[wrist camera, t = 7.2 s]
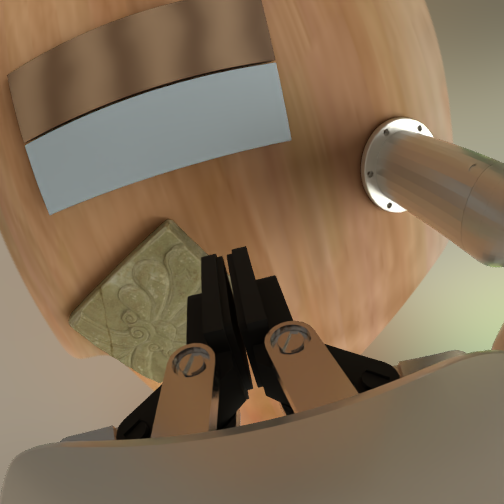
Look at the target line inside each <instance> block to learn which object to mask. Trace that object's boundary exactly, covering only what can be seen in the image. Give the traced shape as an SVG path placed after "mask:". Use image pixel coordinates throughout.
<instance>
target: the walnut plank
mask: <svg viewBox="0 0 504 504" xmlns="http://www.w3.org/2000/svg"><path fill="white" fill-rule="evenodd" d="M273 60H275V56H274V52H273V47H272V43H271V38H270V34H269V30H268V25H267V21H266V17H265V13H264V9H263V5H262V1H261V0H183V1H179V2H175V3H171V4H167V5H163V6H160V7H156V8H152V9H149V10H146V11H143V12H139V13H136V14H133V15H130V16H127V17H124V18H121V19H119V20H116V21H113V22H111V23H108V24H105V25H103V26H100V27H98V28H95V29H93V30H91V31H88V32H86V33H84V34H82V35H79V36H77V37H75V38H73V39H71V40H69V41H67V42H64V43H62V44H60V45H58V46H56V47H55V48H53V49H51V50H49V51H47V52H45V53H43V54H41V55H40V56H38V57H36V58H34V59H33V60H31V61H29V62H27V63H26V64H24V65H23V66H21V67H19V68H18V69H16V70H14V71H13V72H11V73H10V74H8V75H7V77H8V82H9V87H10V91H11V96H12V100H13V105H14V109H15V113H16V116H17V120H18V124H19V127H20V131H21V134H22V138H23V141H24V143H25V142H28V141H30V140H33V139H35V138H37V137H39V136H41V135H43V134H45V133H47V132H48V131H50V130H52V129H54V128H57V127H59V126H61V125H63V124H65V123H67V122H69V121H71V120H73V119H76V118H78V117H80V116H82V115H85V114H87V113H89V112H92V111H94V110H97V109H99V108H101V107H104V106H106V105H109V104H112V103H114V102H117V101H119V100H122V99H125V98H128V97H130V96H133V95H136V94H139V93H142V92H145V91H148V90H151V89H154V88H158V87H161V86H164V85H168V84H171V83H174V82H178V81H182V80H185V79H189V78H193V77H197V76H201V75H205V74H209V73H214V72H218V71H223V70H228V69H232V68H238V67H243V66H248V65H254V64H260V63H267V62H271V61H273Z"/></svg>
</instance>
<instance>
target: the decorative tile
mask: <svg viewBox="0 0 504 504" xmlns="http://www.w3.org/2000/svg"><path fill="white" fill-rule="evenodd" d="M204 256H208V255H207V254H206V253H205V252H204V251H203V250H202V249H201V248H200V247H199V246H198V245H197V244H196V243H195V242H194V241H193V240H192V239H191V238H190V237H189V236H188V235H187V234H186V233H185V232H184V231H183V230H182V229H181V228H180V227H179V226H178V225H177V224H176V223H175V222H174V221H173V220H166V221H165V222H164V223H163V224H161V225H160V226H159V227H158V228H157V229H156V230H155V231H154V232H153V233H152V234H151V235H149V236H148V237H147V238H146V239H145V240H144V241H143V242H142V243H141V244H140V245H138V247H137V248H136V249H134V250H133V251H132V252H131V253H130V254H129V255H128V256H127V257H126V258H125V259H124V260H123V261H122V262H121V263H120V264H119V265H118V266H117V267H116V268H115V269H114V270H113V271H112V272H111V273H110V274H109V275H108V276H107V277H106V278H105V279H104V280H103V281H102V282H101V283H100V284H99V285H98V286H97V287H96V288H95V289H94V290H93V291H92V292H91V293H90V294H89V295H88V296H87V297H86V298H85V299H84V300H83V302H82V303H81V304H80V305H79V306H78V307H77V308H76V309H75V310H74V311H73V312H72V314H71V316H70V318H69V324H70V326H71V327H72V328H73V329H75V330H76V331H77V332H78V333H80V334H81V335H82V336H84V337H85V338H86V339H88V340H89V341H90V342H91V343H93V344H94V345H95V346H97V347H98V348H100V349H101V350H103V351H105V352H106V353H108V354H109V355H110V356H112V357H114V358H116V359H117V360H119V361H120V362H122V363H123V364H125V365H126V366H128V367H130V368H132V369H133V370H135V371H137V372H138V373H140V374H141V375H143V376H145V377H147V378H149V379H152V380H154V381H156V382H158V383H161V382H163V379H164V374H165V370H166V366H167V362H168V360H169V358H170V356H171V355H172V354H173V353H174V352H175V351H176V350H177V349H179V348H180V347H182V346H185V345H186V330H187V298H188V296H191V295H195V294H199V293H202V290H201V257H204ZM227 275H228V274H227ZM228 278H229V282H230V285H231V279H230V276H229V275H228ZM231 289H232V285H231ZM232 292H233V291H232Z"/></svg>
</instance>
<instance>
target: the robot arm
mask: <svg viewBox="0 0 504 504" xmlns="http://www.w3.org/2000/svg"><path fill="white" fill-rule="evenodd" d="M361 178H362V182H363V186H364V189H365V191H366V193H367V195H368V196H369V198H370V199H371V200H372V201H373V202H374V203H375V204H376V205H377V206H379V207H380V208H382V209H384V210H386V211H388V212H394V213H397V212H404V211H408V212H410V213H411V214H413V215H414V216H416V217H417V218H419V219H420V220H422V221H423V222H425V223H426V224H428V225H429V226H431V227H432V228H434V229H435V230H436V231H438V232H439V233H441V234H442V235H443V236H445V237H446V238H448V239H449V240H450V241H452V242H453V243H454V244H456V245H457V246H459V247H460V248H461V249H462V250H464V251H465V252H466V253H468V254H469V255H471V256H472V257H473V258H474V259H476V260H477V261H479V262H480V263H482V264H484V265H487V266H490V267H504V163H502V162H500V161H497V160H495V159H492V158H490V157H487V156H485V155H482V154H479V153H477V152H474V151H472V150H469V149H466V148H464V147H461V146H458V145H455V144H452V143H449V142H446V141H443V140H440V139H437V138H434V137H433V135H432V134H431V132H430V131H429V130H428V128H427V127H425V126H424V125H423V124H422V123H420V122H419V121H417V120H414V119H411V118H405V117H397V118H393V119H390V120H387V121H386V122H384V123H383V124H381V125H380V126H379V127H378V128H377V129H376V130H375V131H374V132H373V133H372V135H371V136H370V138H369V139H368V141H367V144H366V146H365V148H364V152H363V155H362V161H361ZM227 260H228V267H229V273H230V279H231V285H232V289H231V285H230V282H229V278H228V275H227V271H226V267H225V264H224V260H223V257H222V256H221V257H217V256H216V254H212V255H208V256H204V257H201V290H202V293H199V294H195V295H191V296H188V298H187V330H186V345H185V346H182V347H180V348H179V349H177V350H176V351H175V352H174V353H173V354H172V355H171V356H170V358H169V360H168V362H167V366H166V370H165V374H164V379H163V383H162V385H161V386H160V387H159V388H158V389H157V390H155V391H154V392H153V393H152V394H151V395H150V396H149V397H148V398H147V399H146V400H145V401H144V402H143V403H142V404H140V406H138V407H137V408H136V409H135V410H134V411H133V412H132V413H131V414H130V415H129V416H128V417H126V418H125V419H124V420H123V422H122V423H121V424H120V425H119V427H118V428H115V427H114V426H109V427H106V428H102V429H98V430H94V431H90V432H86V433H82V434H78V435H73V436H69V437H66V438H64V439H62V440H61V441H60V442H57V443H49V444H44V445H40V446H36V447H33V448H31V449H28V450H25V451H24V452H22V453H20V454H19V455H17V456H16V457H15V458H14V459H13V460H12V462H11V463H10V465H9V467H8V469H7V472H6V475H5V478H4V482H3V486H2V490H1V495H0V504H504V323H503V325H502V327H501V329H500V331H499V333H498V335H497V337H496V339H495V341H494V343H493V346H492V349H491V350H485V351H477V352H471V353H465V352H463V351H459V350H453V351H447V352H444V353H439V354H434V355H430V356H425V357H420V358H415V359H410V360H405V361H400V362H399V365H397V366H391V365H389V364H387V363H385V362H382V361H378V360H375V359H372V358H368V357H365V356H362V355H358V354H355V353H352V352H348V351H345V350H342V349H339V348H336V347H333V346H329V345H326V344H324V343H323V342H322V340H321V339H320V337H319V336H318V335H317V333H316V332H315V330H314V329H313V328H312V327H311V326H310V325H308V324H306V323H304V322H299V321H293V319H292V317H291V314H290V311H289V309H288V306H287V304H286V301H285V299H284V296H283V293H282V291H281V288H280V286H279V283H278V281H277V278H276V276H275V275H274V276H270V277H266V278H262V279H258V280H255V276H254V273H253V269H252V266H251V262H250V259H249V255H248V252H247V248H246V246H245V247H241V248H237V249H233V250H232V254H229V255H227ZM232 291H233V292H232ZM245 348H246V349H245ZM246 352H247V354H246ZM247 355H248V358H249V361H250V364H251V367H252V370H253V374H254V377H255V380H256V383H257V386H258V387H264V390H265V394H266V396H268V397H270V398H272V399H275V400H277V401H279V404H280V407H281V409H282V411H283V413H284V415H285V416H283V417H279V418H275V419H271V420H267V421H262V422H258V423H253V424H248V425H243V426H240V410H239V408H240V407H241V406H242V404H243V403H244V402H245V401H246V399H249V396H248V390H250V389H253V385H252V380H251V375H250V370H249V364H248V359H247Z"/></svg>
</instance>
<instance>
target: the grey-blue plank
mask: <svg viewBox="0 0 504 504" xmlns="http://www.w3.org/2000/svg"><path fill="white" fill-rule="evenodd" d="M290 140H291V134H290V129H289V124H288V118H287V113H286V108H285V103H284V98H283V93H282V89H281V84H280V79H279V74H278V70H277V65H276V63H270V64H264V65H257V66H251V67H246V68H240V69H235V70H230V71H225V72H221V73H216V74H212V75H207V76H203V77H199V78H195V79H191V80H188V81H184V82H180V83H177V84H173V85H170V86H166V87H163V88H160V89H156V90H153V91H150V92H147V93H144V94H141V95H138V96H135V97H132V98H129V99H127V100H124V101H121V102H118V103H116V104H113V105H111V106H108V107H105V108H103V109H100V110H98V111H96V112H93V113H91V114H88V115H86V116H84V117H81V118H79V119H77V120H75V121H73V122H70V123H68V124H66V125H64V126H62V127H60V128H58V129H56V130H54V131H52V132H50V133H48V134H46V135H44V136H42V137H40V138H38V139H36V140H34V141H32V142H31V143H29V144H27V145H25V148H26V151H27V154H28V157H29V160H30V163H31V166H32V169H33V172H34V175H35V178H36V181H37V184H38V186H39V189H40V192H41V194H42V197H43V200H44V202H45V205H46V207H47V210H48V212H49V215H51V214H54V213H56V212H58V211H61V210H63V209H66V208H68V207H70V206H73V205H75V204H78V203H80V202H83V201H86V200H88V199H91V198H93V197H96V196H99V195H101V194H104V193H107V192H109V191H112V190H115V189H118V188H121V187H123V186H126V185H129V184H132V183H135V182H138V181H141V180H144V179H147V178H150V177H153V176H156V175H159V174H163V173H166V172H169V171H172V170H176V169H179V168H182V167H186V166H189V165H192V164H196V163H200V162H203V161H207V160H210V159H214V158H218V157H222V156H225V155H229V154H233V153H237V152H241V151H245V150H250V149H254V148H258V147H262V146H267V145H271V144H276V143H280V142H285V141H290Z"/></svg>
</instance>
